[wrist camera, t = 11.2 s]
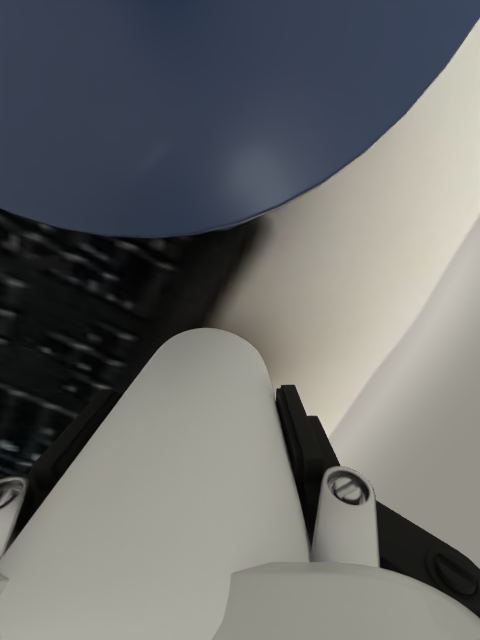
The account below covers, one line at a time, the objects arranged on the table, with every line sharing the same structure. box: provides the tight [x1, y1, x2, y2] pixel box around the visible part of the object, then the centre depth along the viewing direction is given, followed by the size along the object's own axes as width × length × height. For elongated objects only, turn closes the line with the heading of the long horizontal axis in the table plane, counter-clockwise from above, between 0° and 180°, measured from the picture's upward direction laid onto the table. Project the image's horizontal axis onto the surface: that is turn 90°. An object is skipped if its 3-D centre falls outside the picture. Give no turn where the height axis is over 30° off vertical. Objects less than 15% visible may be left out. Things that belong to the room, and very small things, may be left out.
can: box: [0, 328, 311, 640], centre depth 8 cm, size 6×6×12 cm
